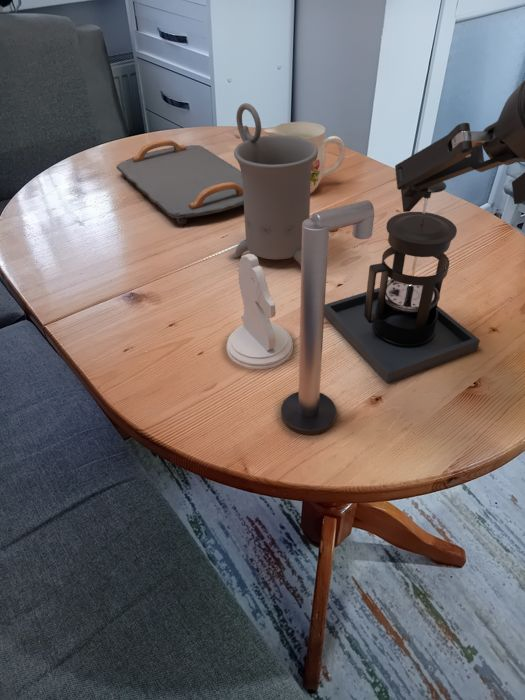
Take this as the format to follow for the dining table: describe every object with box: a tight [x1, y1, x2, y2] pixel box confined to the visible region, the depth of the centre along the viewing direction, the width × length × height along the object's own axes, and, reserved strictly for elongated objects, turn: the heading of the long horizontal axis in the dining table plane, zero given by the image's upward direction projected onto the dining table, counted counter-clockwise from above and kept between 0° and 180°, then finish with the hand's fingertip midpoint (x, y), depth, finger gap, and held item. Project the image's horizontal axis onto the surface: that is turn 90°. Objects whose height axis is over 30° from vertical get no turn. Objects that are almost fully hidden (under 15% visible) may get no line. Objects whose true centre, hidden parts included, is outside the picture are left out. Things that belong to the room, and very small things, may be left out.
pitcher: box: [262, 121, 346, 194], centre depth 117 cm, size 11×18×14 cm, turn 102°
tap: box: [280, 199, 375, 436], centre depth 60 cm, size 10×7×28 cm
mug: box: [231, 102, 318, 267], centre depth 92 cm, size 19×15×25 cm
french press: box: [364, 181, 458, 348], centre depth 74 cm, size 12×9×23 cm
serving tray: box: [115, 139, 244, 227], centre depth 121 cm, size 39×23×6 cm, turn 32°
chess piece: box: [226, 253, 294, 371], centre depth 75 cm, size 10×10×15 cm
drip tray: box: [324, 287, 481, 385], centre depth 81 cm, size 16×18×2 cm
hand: (460, 197), depth 65 cm, fingers open, 13 cm apart
